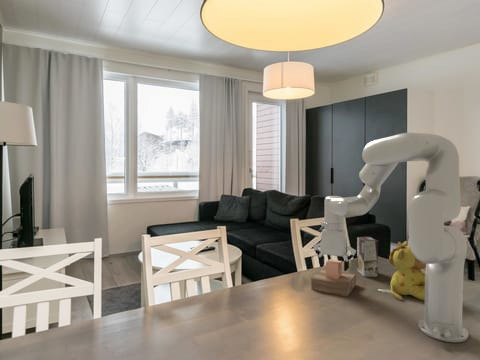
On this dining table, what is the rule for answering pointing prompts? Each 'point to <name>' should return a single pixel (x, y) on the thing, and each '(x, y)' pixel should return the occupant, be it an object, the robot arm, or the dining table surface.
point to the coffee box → (367, 256)
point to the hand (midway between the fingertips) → (333, 268)
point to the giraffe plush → (406, 273)
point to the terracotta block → (333, 269)
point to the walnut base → (334, 283)
